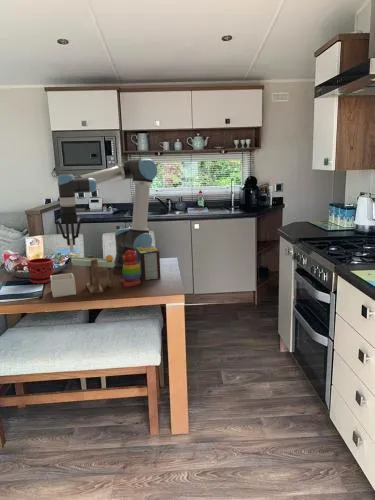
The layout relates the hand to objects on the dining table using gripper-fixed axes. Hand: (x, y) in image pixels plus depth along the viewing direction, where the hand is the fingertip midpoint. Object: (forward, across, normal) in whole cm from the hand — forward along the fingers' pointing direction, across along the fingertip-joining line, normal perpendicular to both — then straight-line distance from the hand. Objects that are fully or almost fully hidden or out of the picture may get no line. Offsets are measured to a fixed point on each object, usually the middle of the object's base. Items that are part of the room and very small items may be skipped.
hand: (71, 251), depth 196 cm
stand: (+18, -12, +12) cm, 24 cm away
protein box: (+18, -40, +3) cm, 43 cm away
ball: (+3, -17, +12) cm, 21 cm away
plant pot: (+18, +16, -14) cm, 28 cm away
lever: (+6, -8, +7) cm, 12 cm away
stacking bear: (+18, -28, +12) cm, 35 cm away
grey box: (+18, +6, +12) cm, 22 cm away
